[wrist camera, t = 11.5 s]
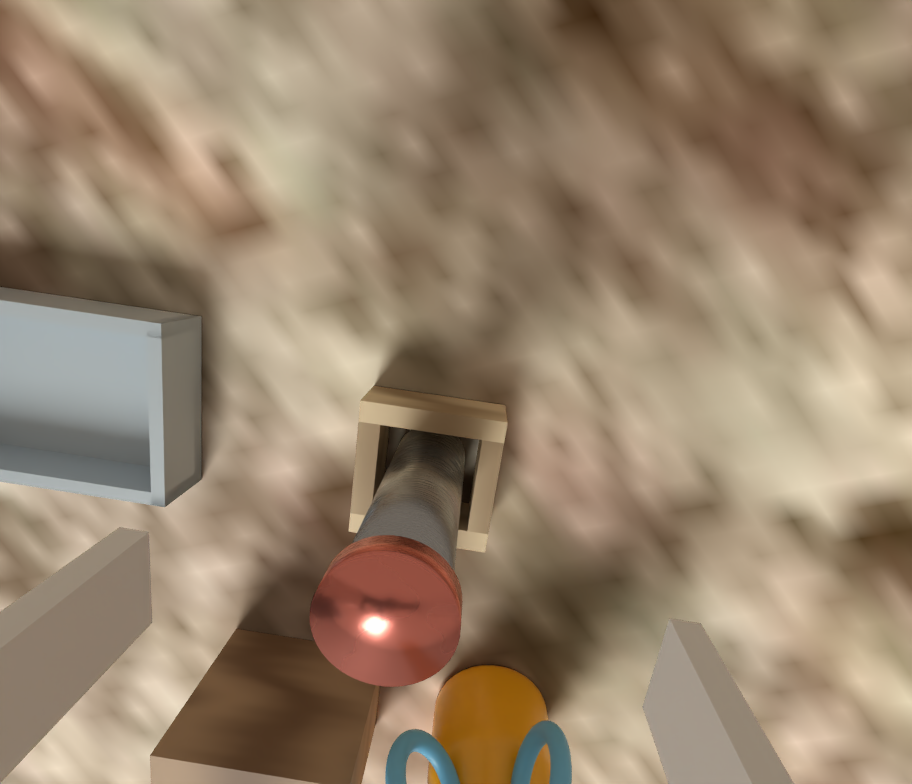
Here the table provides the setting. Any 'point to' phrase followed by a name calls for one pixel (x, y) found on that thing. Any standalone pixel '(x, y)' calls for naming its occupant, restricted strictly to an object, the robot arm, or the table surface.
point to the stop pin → (398, 572)
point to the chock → (270, 719)
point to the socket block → (435, 417)
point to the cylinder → (487, 734)
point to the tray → (99, 397)
